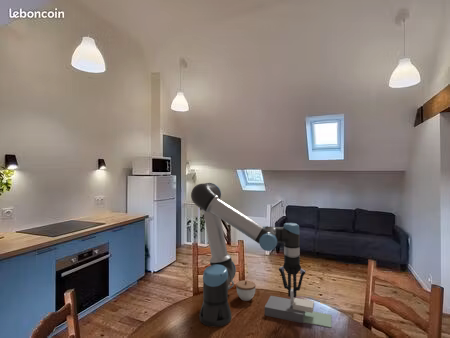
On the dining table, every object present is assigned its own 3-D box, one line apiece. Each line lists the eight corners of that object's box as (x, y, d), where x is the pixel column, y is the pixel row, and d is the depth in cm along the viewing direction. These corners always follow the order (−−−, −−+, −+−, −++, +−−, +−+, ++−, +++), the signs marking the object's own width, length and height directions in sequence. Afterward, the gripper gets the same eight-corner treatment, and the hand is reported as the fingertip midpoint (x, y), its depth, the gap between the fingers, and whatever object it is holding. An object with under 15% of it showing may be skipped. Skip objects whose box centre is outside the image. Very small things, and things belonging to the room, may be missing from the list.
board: (264, 315, 127) (264, 306, 127) (270, 303, 139) (270, 295, 139) (303, 323, 120) (302, 314, 120) (305, 309, 132) (305, 301, 132)
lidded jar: (253, 304, 138) (253, 286, 138) (233, 301, 141) (233, 283, 142) (257, 295, 148) (257, 278, 149) (239, 292, 152) (238, 276, 152)
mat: (303, 322, 121) (303, 321, 121) (305, 310, 131) (305, 310, 131) (331, 327, 116) (331, 327, 116) (331, 315, 126) (331, 314, 126)
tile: (292, 309, 125) (292, 304, 125) (294, 302, 131) (294, 297, 131) (312, 313, 121) (312, 307, 121) (313, 306, 128) (313, 301, 128)
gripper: (306, 254, 130) (306, 302, 129) (280, 251, 135) (280, 297, 134) (304, 258, 123) (305, 309, 122) (277, 255, 128) (277, 304, 127)
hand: (292, 303), depth 128 cm, fingers closed
